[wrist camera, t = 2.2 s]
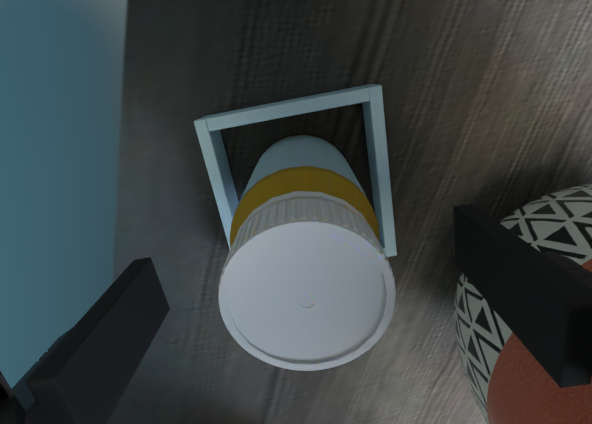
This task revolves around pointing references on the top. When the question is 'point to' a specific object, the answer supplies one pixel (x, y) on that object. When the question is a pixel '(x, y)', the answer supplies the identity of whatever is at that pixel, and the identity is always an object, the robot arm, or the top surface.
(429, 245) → the top surface
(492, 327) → the planter
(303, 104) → the square tray frame
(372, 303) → the bottle
